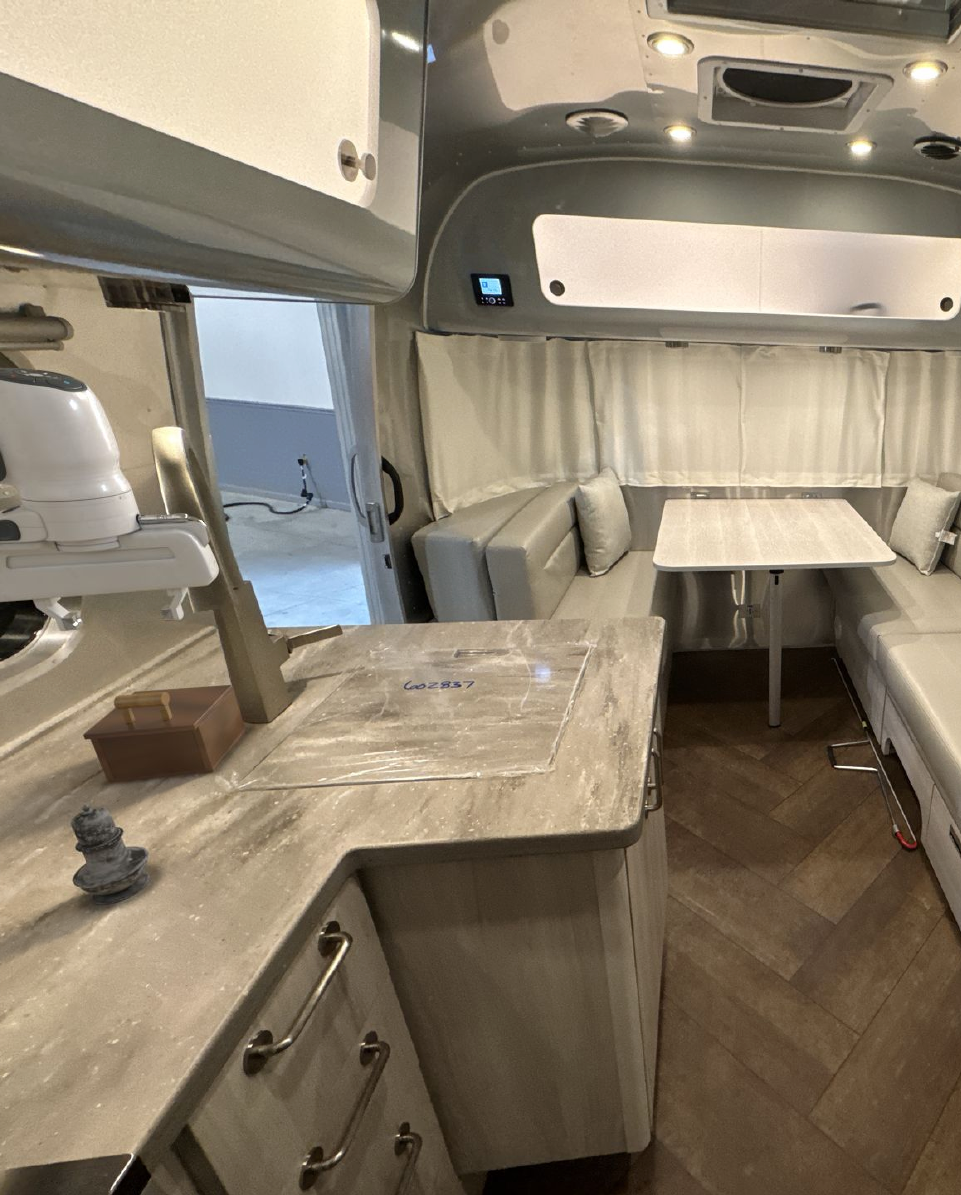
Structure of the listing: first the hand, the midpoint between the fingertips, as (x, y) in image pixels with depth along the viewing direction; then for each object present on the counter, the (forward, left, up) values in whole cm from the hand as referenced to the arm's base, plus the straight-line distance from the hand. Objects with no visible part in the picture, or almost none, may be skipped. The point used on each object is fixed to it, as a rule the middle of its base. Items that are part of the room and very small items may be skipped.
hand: (124, 623), depth 80 cm
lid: (-2, +4, -16) cm, 16 cm away
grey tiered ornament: (+4, -21, -24) cm, 32 cm away
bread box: (-2, +5, -24) cm, 24 cm away
